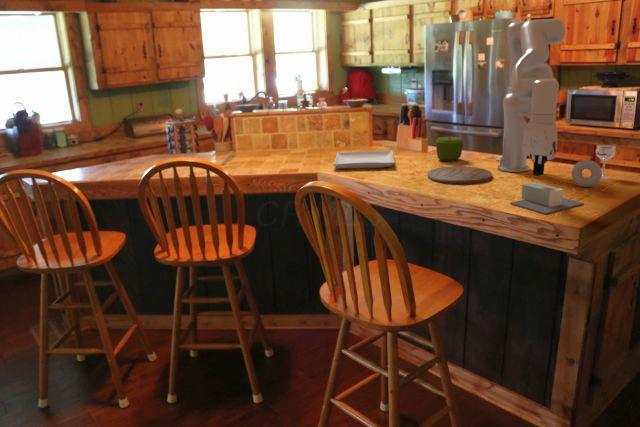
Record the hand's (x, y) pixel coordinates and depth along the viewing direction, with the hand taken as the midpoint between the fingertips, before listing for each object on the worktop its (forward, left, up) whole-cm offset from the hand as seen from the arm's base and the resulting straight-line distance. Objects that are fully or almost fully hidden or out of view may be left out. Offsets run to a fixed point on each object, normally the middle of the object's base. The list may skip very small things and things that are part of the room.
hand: (538, 174), depth 175 cm
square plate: (-87, -12, -10) cm, 89 cm away
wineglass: (-7, +45, -9) cm, 47 cm away
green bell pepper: (-68, +22, -9) cm, 72 cm away
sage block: (-4, 0, -6) cm, 7 cm away
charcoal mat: (+4, 0, -9) cm, 10 cm away
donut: (-2, +28, -9) cm, 30 cm away
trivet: (-41, +4, -10) cm, 43 cm away
